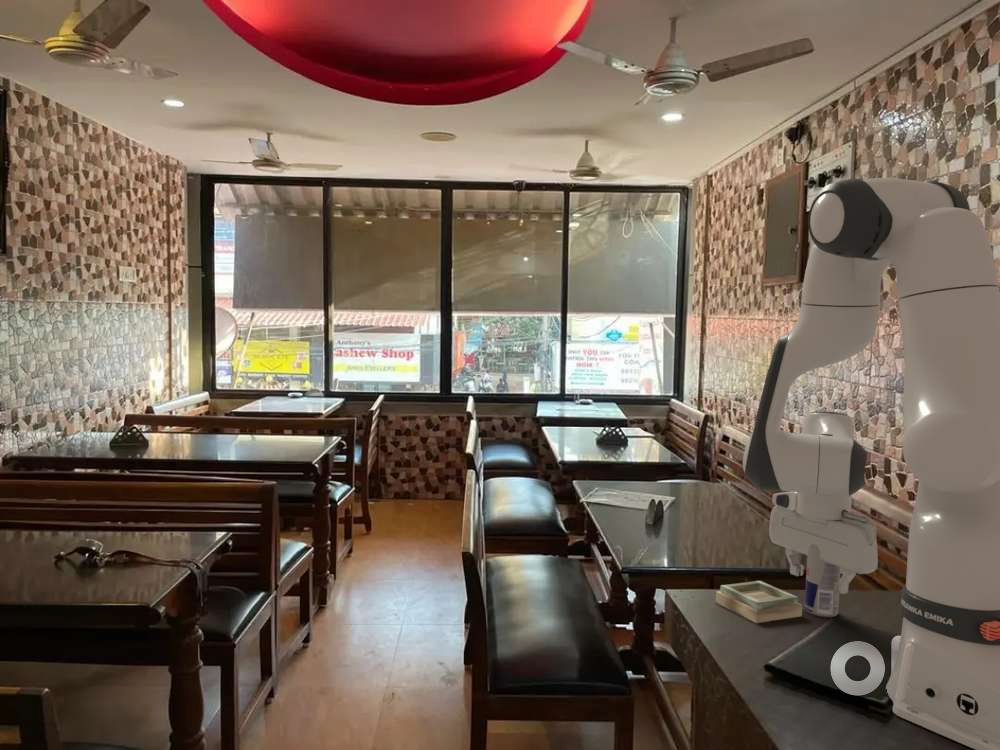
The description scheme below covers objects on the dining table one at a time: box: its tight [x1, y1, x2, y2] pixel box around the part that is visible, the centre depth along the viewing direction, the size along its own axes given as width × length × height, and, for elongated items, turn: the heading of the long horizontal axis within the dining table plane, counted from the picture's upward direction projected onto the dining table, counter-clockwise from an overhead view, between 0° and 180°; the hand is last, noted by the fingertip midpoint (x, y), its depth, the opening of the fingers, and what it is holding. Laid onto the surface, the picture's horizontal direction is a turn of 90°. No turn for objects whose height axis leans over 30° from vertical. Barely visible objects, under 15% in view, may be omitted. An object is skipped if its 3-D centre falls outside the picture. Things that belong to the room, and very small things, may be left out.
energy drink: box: [804, 544, 841, 618], centre depth 124 cm, size 5×5×12 cm
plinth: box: [715, 580, 803, 624], centre depth 124 cm, size 10×10×3 cm
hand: (817, 583), depth 124 cm, fingers open, 8 cm apart
